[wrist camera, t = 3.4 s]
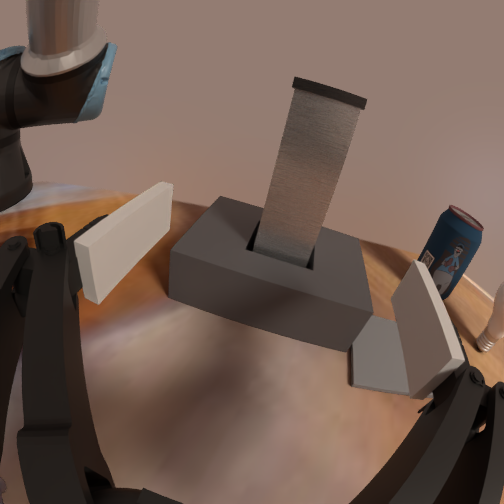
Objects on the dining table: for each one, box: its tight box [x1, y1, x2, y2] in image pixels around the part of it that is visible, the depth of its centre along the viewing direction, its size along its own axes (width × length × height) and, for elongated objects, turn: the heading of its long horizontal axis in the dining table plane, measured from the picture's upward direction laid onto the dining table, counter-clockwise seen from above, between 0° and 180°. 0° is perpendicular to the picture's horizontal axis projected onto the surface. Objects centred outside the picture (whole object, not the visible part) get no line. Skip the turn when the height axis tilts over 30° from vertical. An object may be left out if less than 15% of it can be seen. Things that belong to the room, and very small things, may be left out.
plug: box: [253, 77, 367, 268], centre depth 23 cm, size 5×5×19 cm
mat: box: [351, 315, 433, 398], centre depth 22 cm, size 9×9×1 cm
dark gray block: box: [168, 196, 373, 352], centre depth 26 cm, size 16×12×5 cm
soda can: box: [417, 205, 484, 300], centre depth 30 cm, size 7×7×12 cm
